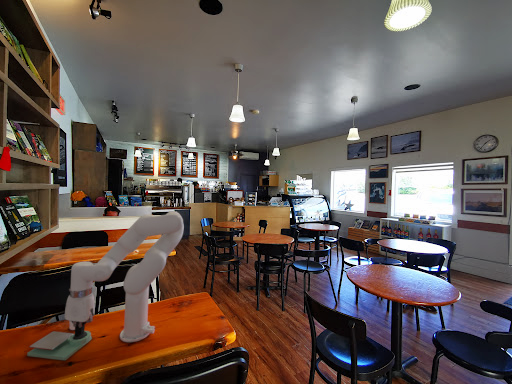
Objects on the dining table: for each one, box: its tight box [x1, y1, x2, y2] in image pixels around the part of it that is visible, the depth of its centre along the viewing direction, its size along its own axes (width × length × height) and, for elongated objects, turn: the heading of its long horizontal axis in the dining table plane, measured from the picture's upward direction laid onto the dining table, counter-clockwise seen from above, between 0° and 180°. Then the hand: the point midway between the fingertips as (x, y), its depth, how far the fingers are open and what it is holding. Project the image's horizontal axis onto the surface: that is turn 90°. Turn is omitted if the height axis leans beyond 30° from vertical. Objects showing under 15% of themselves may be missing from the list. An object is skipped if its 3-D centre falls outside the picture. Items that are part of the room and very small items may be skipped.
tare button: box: [74, 330, 86, 340], centre depth 100 cm, size 4×4×2 cm
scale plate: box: [28, 330, 75, 350], centre depth 96 cm, size 10×10×1 cm
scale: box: [26, 330, 93, 361], centre depth 97 cm, size 17×14×3 cm
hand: (79, 334), depth 100 cm, fingers closed
